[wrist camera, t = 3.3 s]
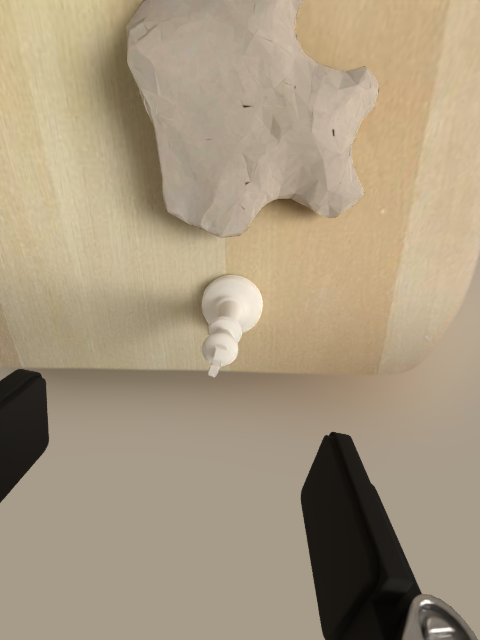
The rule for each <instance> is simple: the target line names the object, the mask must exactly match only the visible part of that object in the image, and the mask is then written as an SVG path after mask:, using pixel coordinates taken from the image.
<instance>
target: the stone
mask: <svg viewBox="0 0 480 640" xmlns="http://www.w3.org/2000/svg"><path fill="white" fill-rule="evenodd" d="M301 2H302V0H144V1H143V2H142V4H141V5H140V6H139V8H138V9H137V11H136V12H135V13H134V15H133V16H132V18H131V20H130V21H129V23H128V25H127V28H126V38H127V63H128V66H129V68H130V71H131V73H132V75H133V78H134V80H135V82H136V84H137V87H138V89H139V91H140V94H141V98H142V101H143V104H144V106H145V108H146V111H147V113H148V115H149V117H150V119H151V121H152V123H153V127H154V131H155V143H156V148H157V153H158V158H159V164H160V169H161V180H162V191H163V203H164V207H165V208H166V210H167V211H168V212H169V213H171V214H172V215H174V216H176V217H178V218H179V219H181V220H183V221H185V222H186V223H188V224H190V225H192V226H196V227H199V228H201V229H204V230H206V231H209V232H211V233H213V234H215V235H217V236H219V237H221V238H222V237H231V236H239V235H241V234H242V233H244V232H245V231H246V230H247V229H248V227H249V226H250V224H251V223H252V221H253V220H254V218H255V216H256V215H257V214H258V213H259V211H260V210H261V209H262V207H263V206H265V205H266V204H268V203H270V202H271V201H273V200H276V199H289V198H290V199H292V200H294V201H297V202H299V203H300V204H302V205H304V206H306V207H308V208H310V209H312V210H314V211H315V212H316V213H317V214H320V215H322V216H325V217H327V218H335V217H337V216H339V215H340V214H342V213H343V212H345V211H347V210H348V209H350V208H351V207H353V206H354V205H355V204H356V203H357V202H358V201H359V200H360V199H361V198H362V196H363V195H364V193H365V192H364V190H363V188H362V186H361V184H360V182H359V179H358V177H357V174H356V171H355V169H354V166H353V163H352V148H351V146H352V144H353V141H354V139H355V137H356V134H357V132H358V130H359V127H360V125H361V123H362V120H363V118H364V117H365V116H366V115H367V114H368V113H369V112H370V111H371V110H372V109H373V108H374V107H375V103H376V100H377V96H378V92H379V86H378V84H377V81H376V79H375V76H374V74H373V73H372V72H371V71H370V70H369V69H368V68H367V67H365V66H364V67H360V68H356V69H353V70H349V71H341V70H336V69H332V68H330V67H327V66H324V65H321V64H319V63H317V62H315V61H314V60H312V59H311V58H310V57H308V56H307V55H306V54H305V53H304V52H303V51H302V49H301V46H300V43H299V40H298V38H297V35H296V32H295V21H296V15H297V11H298V9H299V7H300V5H301Z"/></svg>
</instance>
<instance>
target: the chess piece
mask: <svg viewBox="0 0 480 640" xmlns="http://www.w3.org/2000/svg"><path fill="white" fill-rule="evenodd" d="M262 308H263V301H262V296H261V294H260V292H259V290H258V288H257V287H256V286H255V285H254V284H253V283H252V282H251V281H250V280H248V279H246V278H244V277H242V276H238V275H225V276H221V277H219V278H217V279H215V280H213V281H212V282H211V283H210V284H209V285H208V286H207V288H206V289H205V291H204V294H203V297H202V312H203V315H204V318H205V320H206V321H207V323H208V324H209V327H208V335H209V336H208V337H207V338H206V339H205V340H204V342H203V344H202V353H203V355H204V357H205V359H206V360H207V361H208V362H210V363H211V366H210V369H209V372H208V375H209V376H212V377H216V375H217V374H218V372H219V369H220V366H225V365H228V364H230V363H232V362H233V361H234V360H235V359H236V357H237V355H238V345H237V343H238V342H239V340H240V339H241V336H242V333H244V332H247V331H248V330H250V329H251V328H252V327H254V326H255V324H256V323H257V322H258V320H259V318H260V316H261V313H262Z"/></svg>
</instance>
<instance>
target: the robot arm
mask: <svg viewBox="0 0 480 640" xmlns="http://www.w3.org/2000/svg"><path fill="white" fill-rule="evenodd" d="M48 442H49V434H48V416H47V397H46V381H45V379H43V378H42V376H41V374H40V373H38V372H34V371H28V370H24V369H18V370H16V371H14V372H13V373H11V374H10V375H8V376H7V377H6V378H4V379H2V380H1V381H0V503H1V501H2V500H3V499H4V498H5V497H6V496H7V494H8V493H9V492H10V491H11V490H12V489H13V487H14V486H15V485H16V484H17V483H18V482H19V480H20V479H21V478H22V477H23V476H24V474H25V473H26V472H27V471H28V470H29V469H30V468H31V467H32V465H33V464H34V463H35V462H36V461H37V459H38V458H39V457H40V456H41V455H42V454H43V453H44V451H45V450H46V448H47V445H48ZM301 504H302V511H303V517H304V523H305V529H306V535H307V541H308V548H309V554H310V560H311V566H312V572H313V578H314V584H315V590H316V597H317V602H318V609H319V615H320V621H321V627H322V632H323V636H324V638H325V640H478V639H477V637H476V636H475V634H474V632H473V631H472V630H471V628H470V627H469V626H468V625H467V623H466V622H465V620H464V619H463V618H462V617H461V616H460V615H459V614H458V613H457V612H456V611H455V610H454V609H453V608H452V607H451V606H449V605H448V604H446V603H445V602H444V601H442V600H441V599H439V598H436V597H434V596H432V595H427V594H422V593H421V591H420V589H419V587H418V584H417V582H416V580H415V577H414V575H413V573H412V570H411V568H410V566H409V564H408V561H407V559H406V557H405V555H404V552H403V550H402V548H401V545H400V543H399V541H398V538H397V536H396V534H395V532H394V529H393V527H392V525H391V523H390V520H389V518H388V516H387V513H386V511H385V509H384V506H383V504H382V502H381V499H380V497H379V495H378V493H377V491H376V489H375V487H374V486H373V485H372V484H371V483H370V480H369V478H368V475H367V473H366V471H365V469H364V466H363V464H362V461H361V459H360V457H359V455H358V452H357V450H356V447H355V445H354V443H353V441H352V438H351V437H350V436H349V435H346V434H341V433H336V432H331V433H330V435H329V436H328V435H326V436H324V438H323V440H322V443H321V445H320V448H319V450H318V452H317V455H316V457H315V460H314V462H313V464H312V467H311V469H310V471H309V474H308V476H307V478H306V481H305V483H304V486H303V488H302V491H301Z"/></svg>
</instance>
